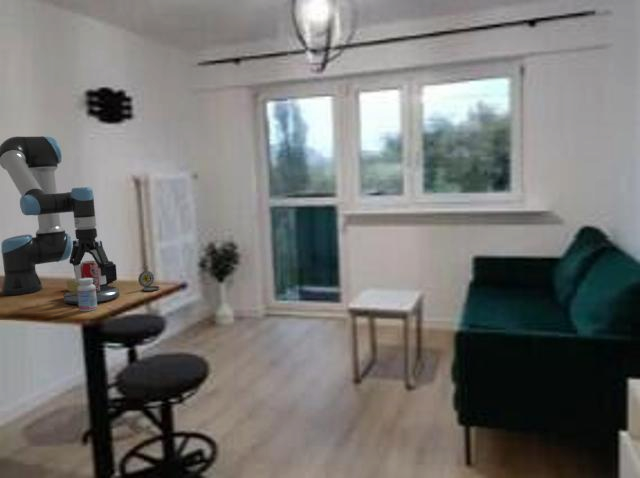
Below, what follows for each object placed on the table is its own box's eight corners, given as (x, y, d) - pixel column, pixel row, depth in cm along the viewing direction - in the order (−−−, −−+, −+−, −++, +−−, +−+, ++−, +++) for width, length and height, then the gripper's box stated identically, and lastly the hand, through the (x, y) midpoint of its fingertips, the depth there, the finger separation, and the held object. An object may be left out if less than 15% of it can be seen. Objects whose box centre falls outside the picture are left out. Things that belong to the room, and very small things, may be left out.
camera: (81, 289, 240) (101, 289, 231) (77, 263, 239) (96, 262, 230) (103, 284, 248) (123, 284, 239) (99, 259, 247) (119, 258, 238)
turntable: (47, 300, 214) (45, 285, 213) (91, 289, 231) (90, 275, 230) (87, 305, 202) (85, 289, 202) (130, 293, 220) (129, 278, 219)
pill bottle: (75, 311, 198) (72, 280, 197) (88, 307, 204) (85, 277, 202) (88, 312, 196) (85, 281, 195) (101, 308, 202) (98, 277, 200)
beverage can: (89, 294, 211) (86, 263, 210) (79, 293, 215) (76, 262, 213) (103, 291, 217) (100, 260, 215) (93, 289, 220) (90, 259, 218)
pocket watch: (154, 292, 225) (152, 267, 223) (135, 291, 227) (133, 267, 225) (164, 287, 233) (162, 263, 231) (145, 287, 234) (143, 263, 233)
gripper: (56, 228, 215) (61, 282, 218) (99, 230, 203) (104, 287, 206) (73, 226, 222) (78, 278, 224) (116, 227, 209) (121, 283, 212)
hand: (91, 283), depth 215 cm, fingers open, 13 cm apart
